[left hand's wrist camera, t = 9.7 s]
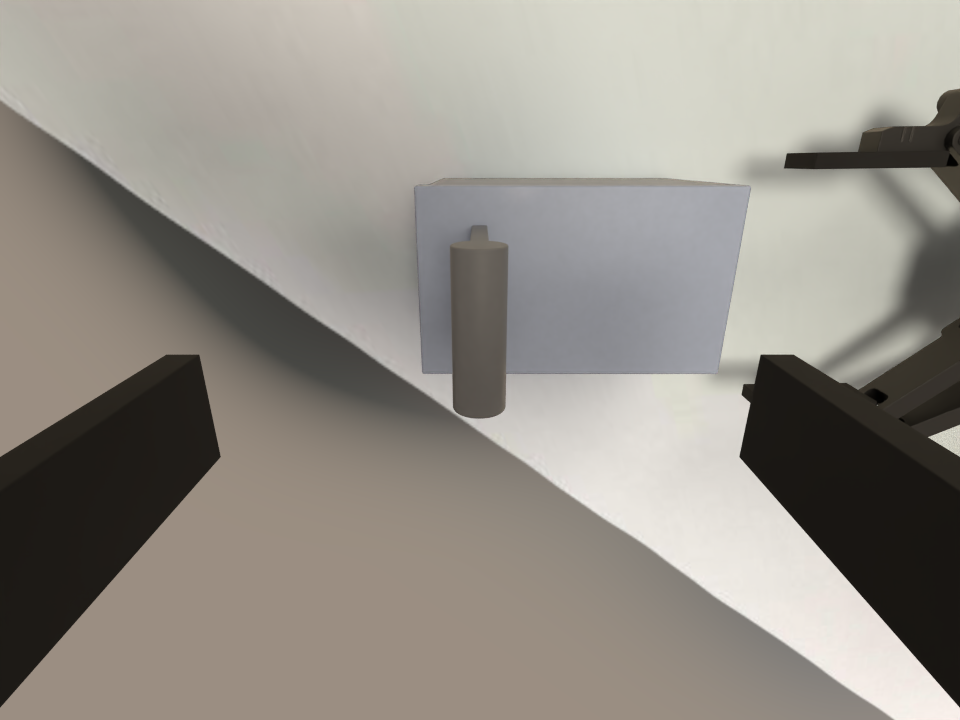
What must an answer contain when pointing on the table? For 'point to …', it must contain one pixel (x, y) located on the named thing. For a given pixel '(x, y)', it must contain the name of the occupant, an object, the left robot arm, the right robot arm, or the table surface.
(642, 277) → the lid
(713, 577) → the table surface
